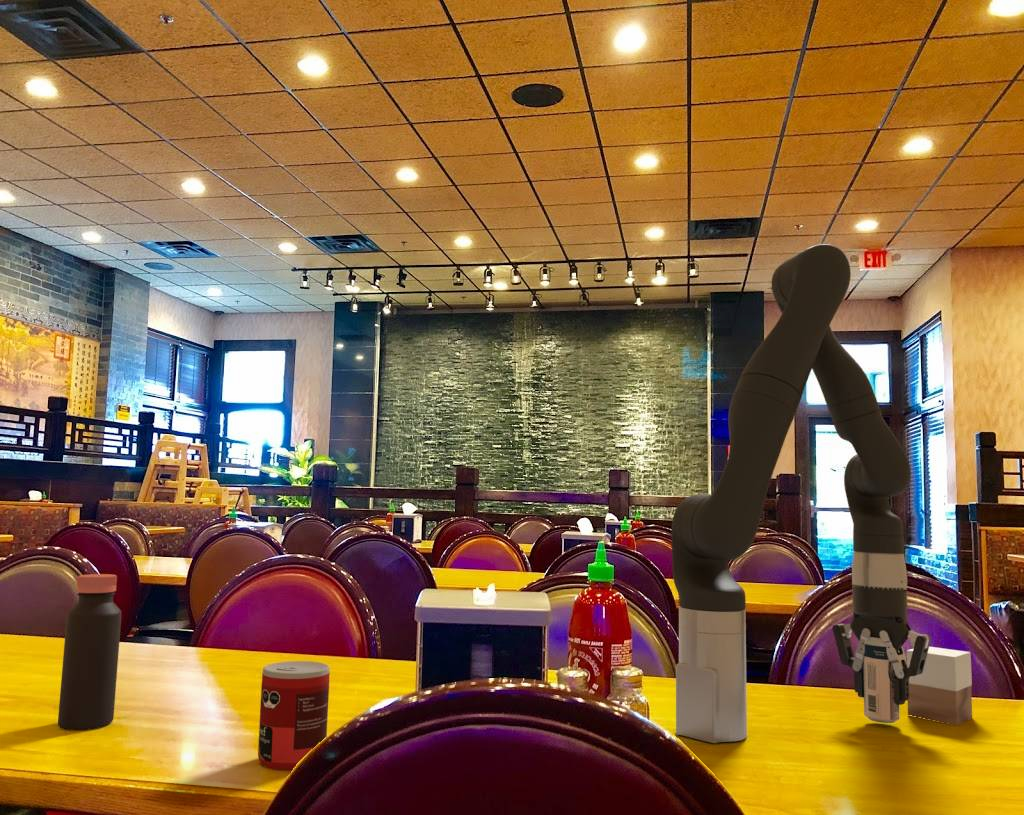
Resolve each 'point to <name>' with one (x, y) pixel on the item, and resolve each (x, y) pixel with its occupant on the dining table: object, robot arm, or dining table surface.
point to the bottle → (90, 655)
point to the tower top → (944, 669)
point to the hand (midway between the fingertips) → (881, 699)
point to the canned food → (292, 712)
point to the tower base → (940, 704)
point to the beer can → (879, 683)
